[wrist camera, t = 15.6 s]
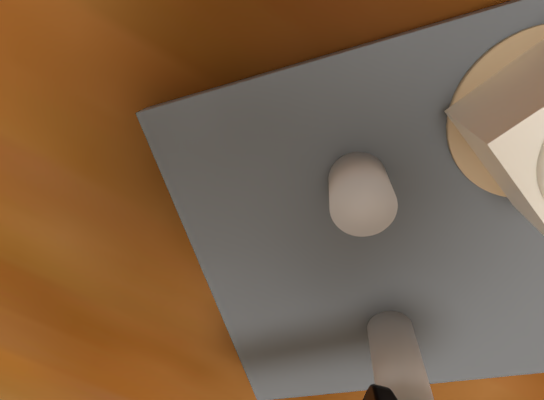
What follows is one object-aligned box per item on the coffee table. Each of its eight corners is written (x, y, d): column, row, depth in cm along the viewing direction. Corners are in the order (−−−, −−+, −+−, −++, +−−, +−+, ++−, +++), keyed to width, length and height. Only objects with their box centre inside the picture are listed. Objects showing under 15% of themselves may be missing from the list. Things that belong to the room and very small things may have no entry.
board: (146, 107, 19) (56, 153, 12) (622, -33, 14) (859, -72, 8) (260, 384, 26) (239, 504, 20) (602, 347, 22) (719, 486, 15)
